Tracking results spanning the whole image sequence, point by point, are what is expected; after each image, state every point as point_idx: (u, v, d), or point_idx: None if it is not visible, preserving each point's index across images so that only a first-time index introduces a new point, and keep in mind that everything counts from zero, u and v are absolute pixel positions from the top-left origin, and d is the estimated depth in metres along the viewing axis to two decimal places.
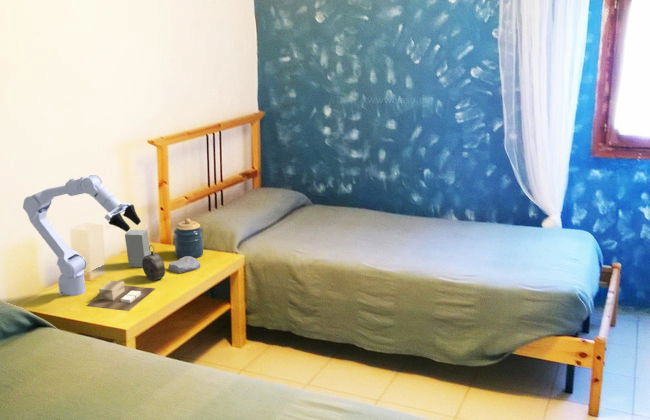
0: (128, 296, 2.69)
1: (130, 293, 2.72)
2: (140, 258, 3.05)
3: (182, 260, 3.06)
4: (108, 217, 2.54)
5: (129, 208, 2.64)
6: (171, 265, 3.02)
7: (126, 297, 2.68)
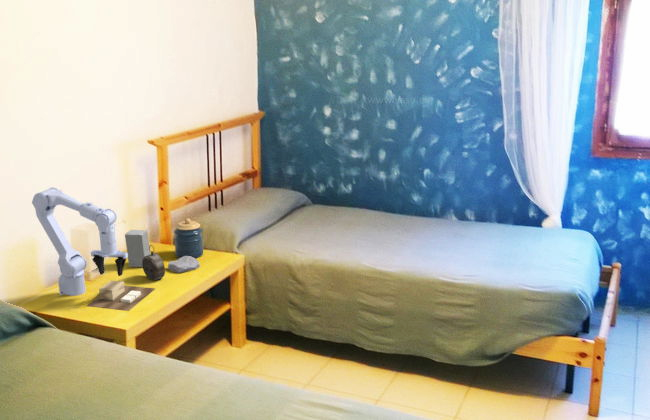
0: (128, 296, 2.69)
1: (130, 293, 2.72)
2: (140, 258, 3.05)
3: (181, 260, 3.06)
4: None
5: None
6: (170, 265, 3.02)
7: (126, 297, 2.68)
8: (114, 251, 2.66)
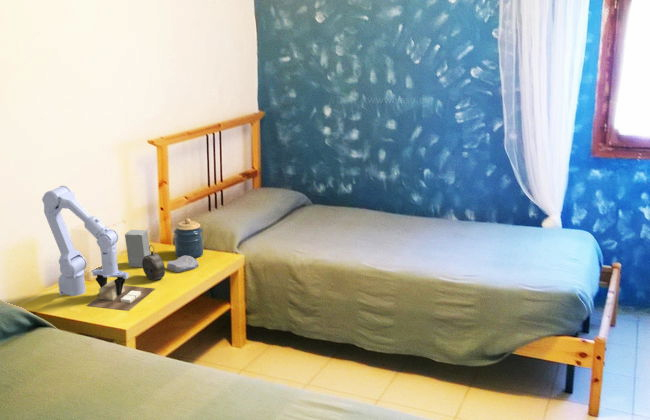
0: (128, 296, 2.69)
1: (130, 293, 2.72)
2: (140, 258, 3.05)
3: (180, 259, 3.06)
4: None
5: None
6: (169, 264, 3.03)
7: (126, 297, 2.68)
8: (115, 271, 2.68)
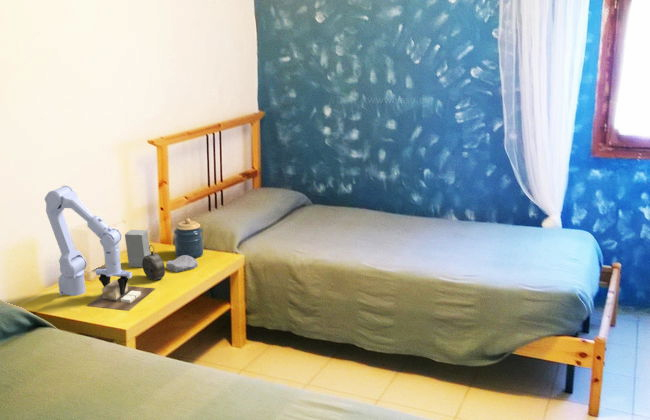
0: (128, 296, 2.69)
1: (130, 293, 2.72)
2: (140, 258, 3.05)
3: (179, 259, 3.07)
4: None
5: None
6: (168, 264, 3.03)
7: (126, 297, 2.68)
8: (118, 270, 2.67)
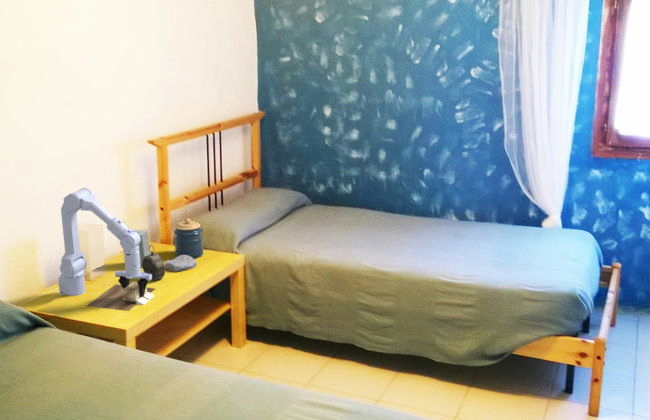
0: (144, 299, 2.67)
1: (146, 295, 2.70)
2: (140, 258, 3.05)
3: (178, 259, 3.07)
4: None
5: None
6: (167, 264, 3.04)
7: (142, 300, 2.66)
8: (138, 272, 2.66)
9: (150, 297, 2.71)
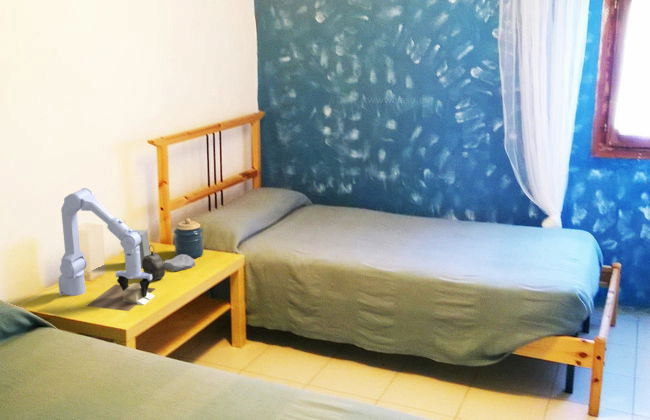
0: (145, 300, 2.67)
1: (147, 296, 2.70)
2: (140, 258, 3.05)
3: (177, 258, 3.08)
4: None
5: None
6: (166, 263, 3.04)
7: (143, 301, 2.66)
8: (139, 273, 2.66)
9: (151, 297, 2.70)
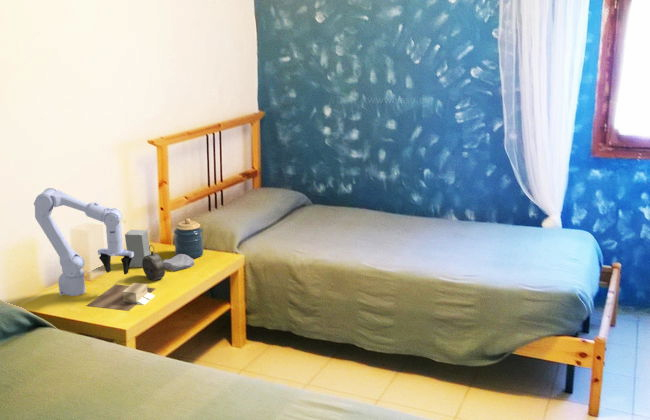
0: (145, 300, 2.67)
1: (147, 296, 2.70)
2: (140, 258, 3.05)
3: (176, 258, 3.08)
4: None
5: None
6: (165, 263, 3.05)
7: (143, 301, 2.66)
8: (120, 250, 2.71)
9: (151, 297, 2.70)
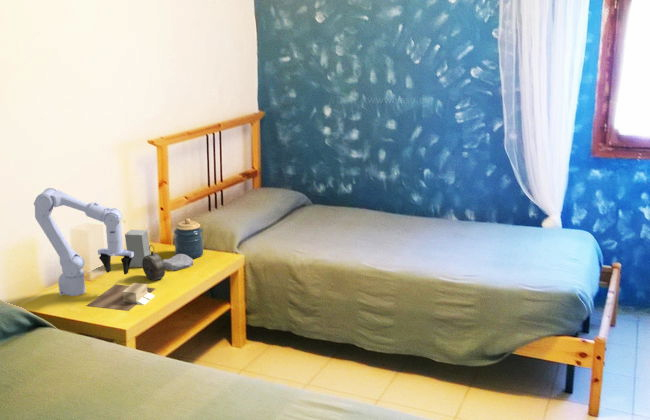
0: (145, 300, 2.67)
1: (147, 296, 2.70)
2: (140, 258, 3.05)
3: (175, 258, 3.08)
4: None
5: None
6: (164, 263, 3.05)
7: (143, 301, 2.66)
8: (120, 250, 2.71)
9: (151, 297, 2.70)
